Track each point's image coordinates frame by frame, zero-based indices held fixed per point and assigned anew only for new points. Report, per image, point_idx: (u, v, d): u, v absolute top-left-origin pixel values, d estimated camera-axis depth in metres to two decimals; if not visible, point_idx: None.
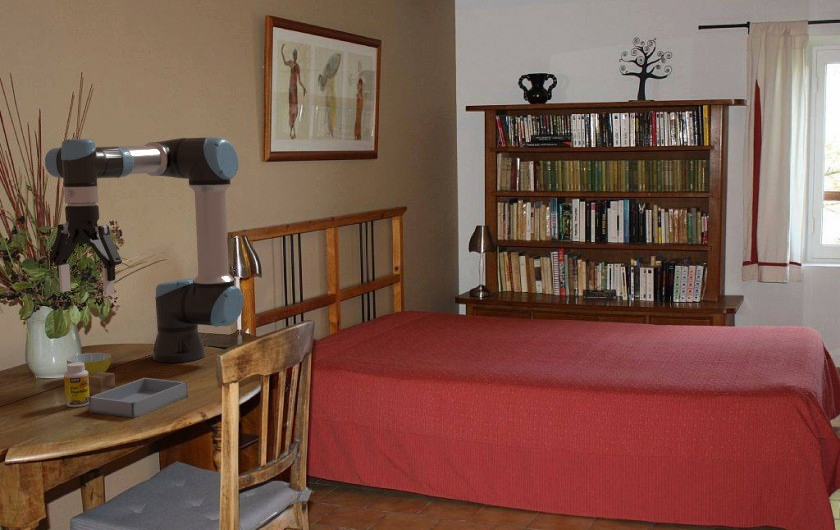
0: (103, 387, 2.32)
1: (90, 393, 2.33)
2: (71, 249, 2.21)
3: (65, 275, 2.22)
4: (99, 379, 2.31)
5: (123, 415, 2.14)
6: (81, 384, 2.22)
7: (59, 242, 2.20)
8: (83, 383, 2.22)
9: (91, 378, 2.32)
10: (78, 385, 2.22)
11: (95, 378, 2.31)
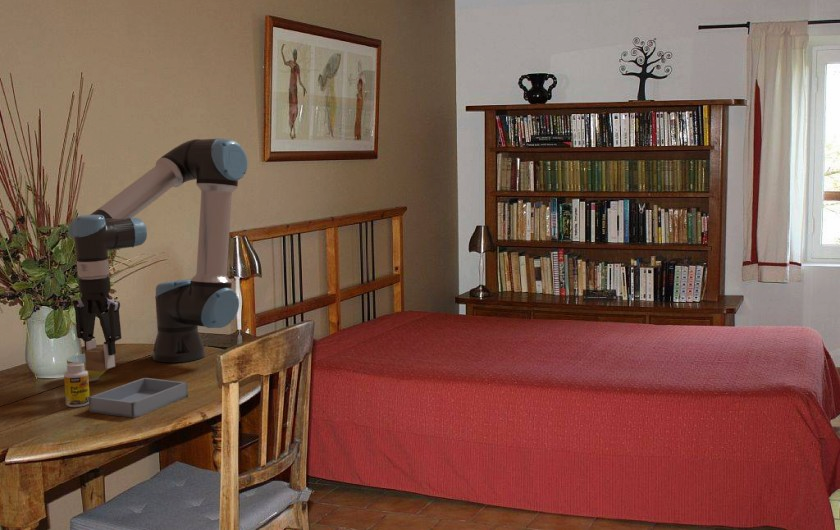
0: (102, 361, 2.31)
1: (90, 368, 2.32)
2: (92, 322, 2.33)
3: None
4: (99, 353, 2.30)
5: (123, 415, 2.14)
6: (81, 384, 2.22)
7: (79, 316, 2.33)
8: (83, 383, 2.22)
9: (90, 352, 2.31)
10: (78, 385, 2.22)
11: (94, 352, 2.31)
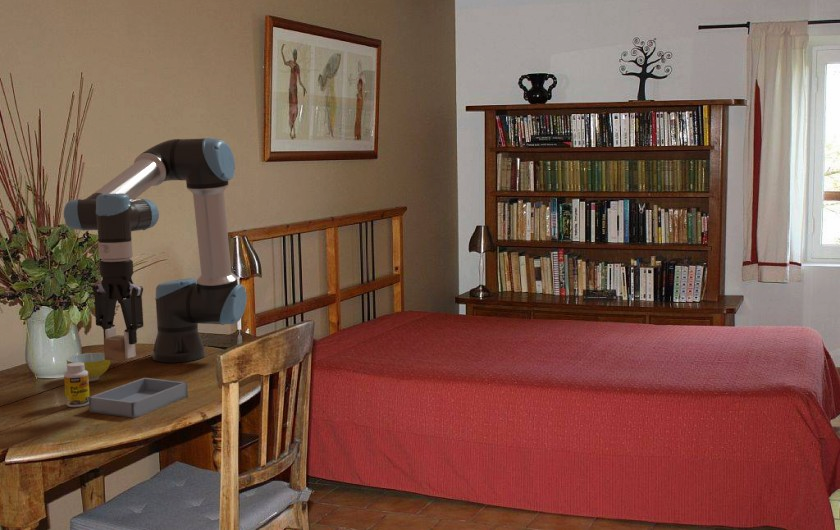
0: (122, 350, 2.15)
1: (109, 357, 2.16)
2: (112, 308, 2.18)
3: None
4: (118, 341, 2.14)
5: (123, 415, 2.14)
6: (81, 384, 2.22)
7: (98, 302, 2.18)
8: (83, 383, 2.22)
9: (110, 341, 2.16)
10: (78, 385, 2.22)
11: (114, 340, 2.15)
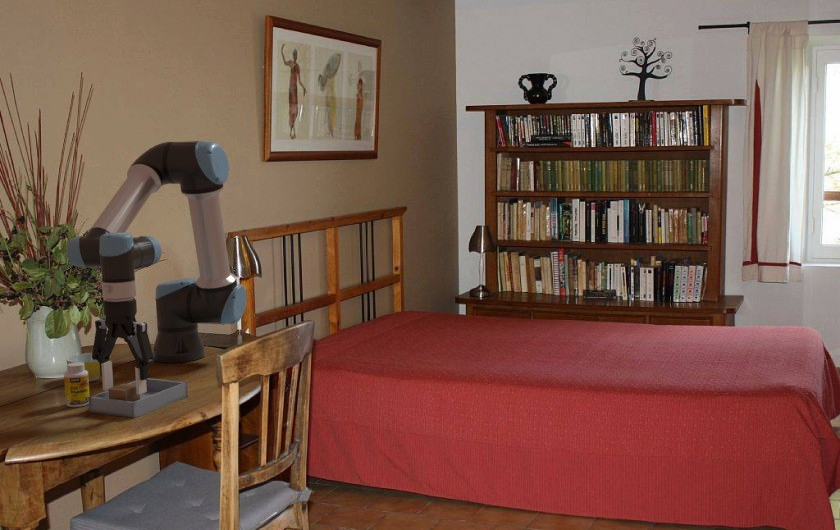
0: (127, 400, 2.17)
1: None
2: (111, 345, 2.19)
3: (108, 373, 2.21)
4: (123, 392, 2.16)
5: (123, 415, 2.14)
6: (81, 384, 2.22)
7: (98, 338, 2.19)
8: (83, 383, 2.22)
9: (115, 391, 2.17)
10: (78, 385, 2.22)
11: (119, 391, 2.16)
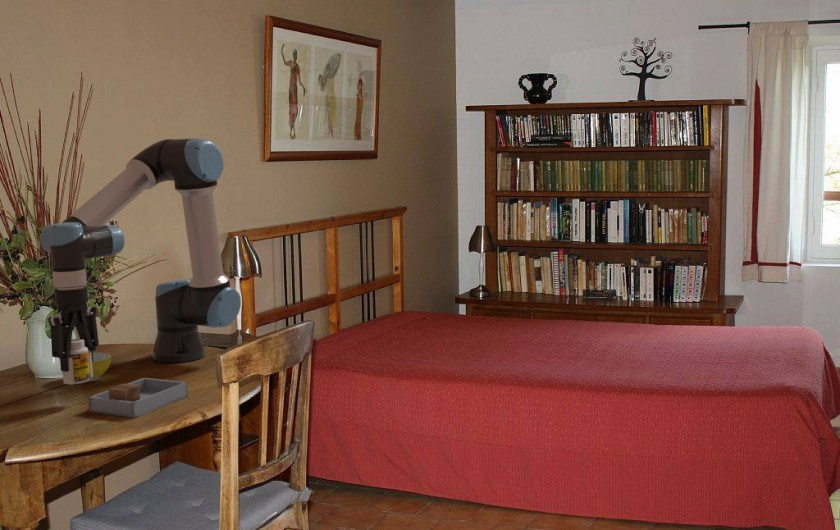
0: (127, 400, 2.17)
1: None
2: (82, 333, 2.25)
3: None
4: (123, 392, 2.16)
5: (123, 415, 2.14)
6: (81, 360, 2.22)
7: None
8: (84, 360, 2.22)
9: (115, 391, 2.17)
10: (78, 362, 2.21)
11: (119, 391, 2.16)
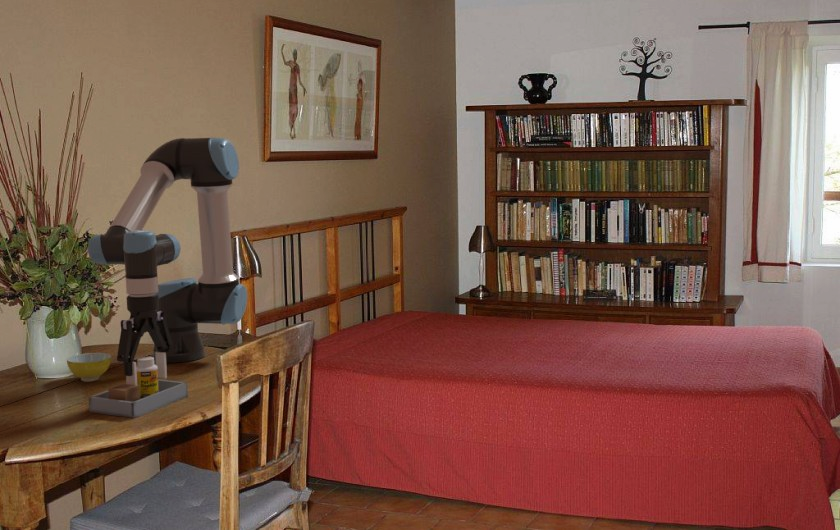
0: (127, 400, 2.17)
1: None
2: (155, 337, 2.28)
3: (159, 362, 2.31)
4: (123, 392, 2.16)
5: (123, 415, 2.14)
6: (151, 378, 2.24)
7: None
8: (154, 377, 2.25)
9: (115, 391, 2.17)
10: (149, 379, 2.24)
11: (119, 391, 2.16)
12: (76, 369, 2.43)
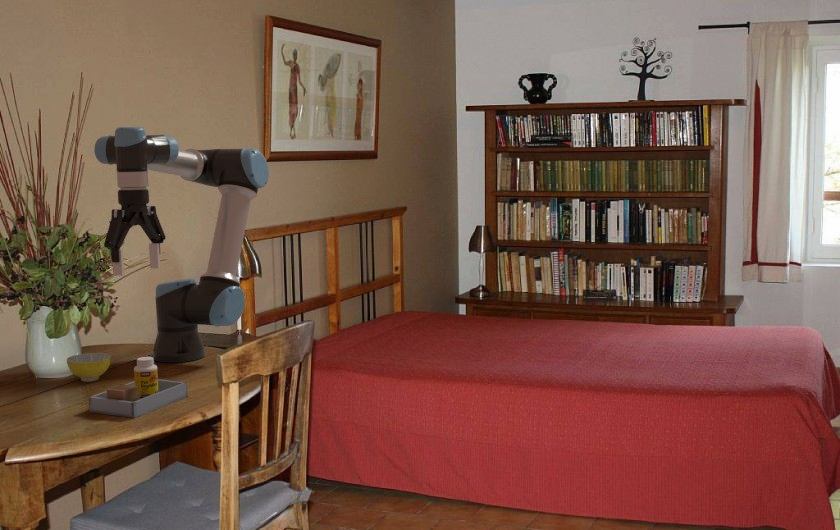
0: (125, 400, 2.16)
1: None
2: (147, 230, 2.37)
3: (153, 253, 2.40)
4: (121, 392, 2.15)
5: (123, 415, 2.14)
6: (151, 378, 2.24)
7: None
8: (153, 377, 2.25)
9: (113, 391, 2.16)
10: (148, 380, 2.24)
11: (117, 391, 2.16)
12: (76, 369, 2.43)
